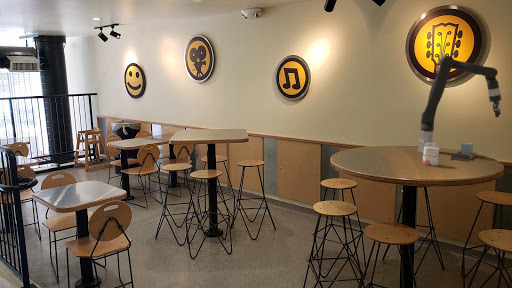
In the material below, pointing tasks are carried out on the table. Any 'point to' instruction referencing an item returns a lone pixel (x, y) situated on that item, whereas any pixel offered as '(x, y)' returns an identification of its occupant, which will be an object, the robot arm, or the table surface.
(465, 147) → the slate block
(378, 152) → the table surface
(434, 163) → the ink cartridge box
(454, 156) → the walnut chute
